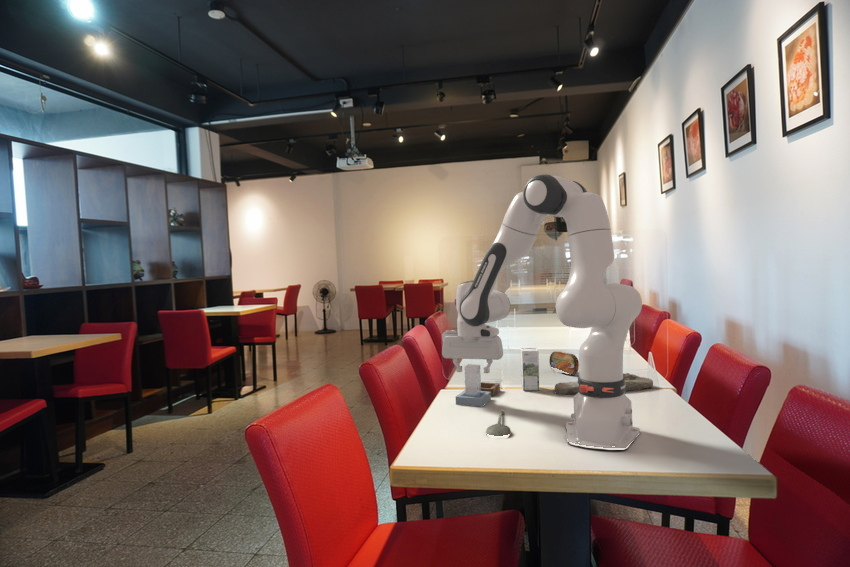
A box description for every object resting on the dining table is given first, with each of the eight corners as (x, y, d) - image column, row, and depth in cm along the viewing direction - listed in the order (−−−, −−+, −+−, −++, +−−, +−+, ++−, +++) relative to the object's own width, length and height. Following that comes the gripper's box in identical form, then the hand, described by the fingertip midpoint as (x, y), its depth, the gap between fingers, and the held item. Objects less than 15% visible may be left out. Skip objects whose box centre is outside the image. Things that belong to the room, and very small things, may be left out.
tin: (549, 370, 213) (548, 350, 213) (555, 369, 214) (554, 349, 214) (574, 377, 199) (573, 355, 199) (580, 376, 201) (580, 354, 200)
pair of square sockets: (482, 406, 165) (481, 398, 165) (455, 404, 169) (455, 396, 169) (500, 390, 184) (500, 383, 184) (476, 388, 188) (476, 381, 188)
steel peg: (477, 403, 168) (476, 367, 168) (465, 402, 170) (464, 366, 170) (481, 400, 172) (480, 364, 171) (470, 399, 174) (468, 364, 173)
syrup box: (537, 386, 187) (536, 346, 186) (539, 391, 181) (538, 349, 180) (521, 387, 188) (520, 347, 187) (523, 391, 182) (521, 350, 181)
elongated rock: (549, 393, 183) (560, 402, 173) (548, 379, 183) (559, 387, 173) (644, 382, 187) (659, 390, 177) (643, 367, 186) (658, 375, 176)
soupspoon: (484, 442, 136) (510, 444, 135) (485, 430, 136) (510, 432, 135) (491, 414, 158) (513, 415, 156) (491, 403, 157) (513, 405, 156)
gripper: (438, 331, 171) (440, 373, 172) (498, 331, 163) (500, 375, 163) (445, 328, 177) (447, 369, 177) (503, 329, 168) (505, 371, 169)
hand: (472, 372), depth 170 cm, fingers open, 8 cm apart
